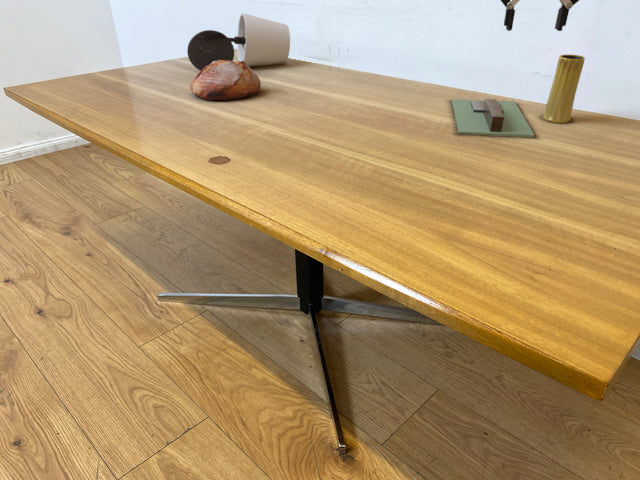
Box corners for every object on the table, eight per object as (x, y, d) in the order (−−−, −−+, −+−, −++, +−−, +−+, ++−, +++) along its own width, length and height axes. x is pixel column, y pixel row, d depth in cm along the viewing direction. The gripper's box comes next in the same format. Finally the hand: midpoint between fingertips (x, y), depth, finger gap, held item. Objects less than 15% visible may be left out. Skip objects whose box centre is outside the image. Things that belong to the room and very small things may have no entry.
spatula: (512, 132, 107) (515, 117, 105) (479, 131, 108) (481, 116, 106) (498, 104, 125) (500, 90, 123) (470, 103, 126) (472, 89, 124)
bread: (266, 101, 135) (264, 64, 129) (194, 108, 130) (189, 70, 124) (254, 83, 148) (252, 49, 142) (188, 89, 142) (183, 53, 137)
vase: (573, 118, 116) (590, 56, 109) (565, 124, 112) (582, 60, 105) (547, 113, 120) (562, 52, 112) (538, 119, 116) (553, 57, 108)
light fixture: (183, 46, 170) (277, 54, 180) (187, 75, 158) (287, 81, 169) (183, -3, 157) (284, 9, 168) (187, 25, 146) (295, 35, 157)
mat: (514, 103, 127) (514, 101, 127) (534, 137, 106) (534, 135, 105) (452, 101, 130) (452, 99, 129) (458, 134, 108) (459, 131, 108)
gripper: (506, -68, 89) (491, 32, 98) (608, -71, 86) (583, 33, 95) (501, -68, 95) (487, 27, 104) (596, -70, 92) (573, 27, 101)
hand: (533, 29), depth 99 cm, fingers open, 9 cm apart
